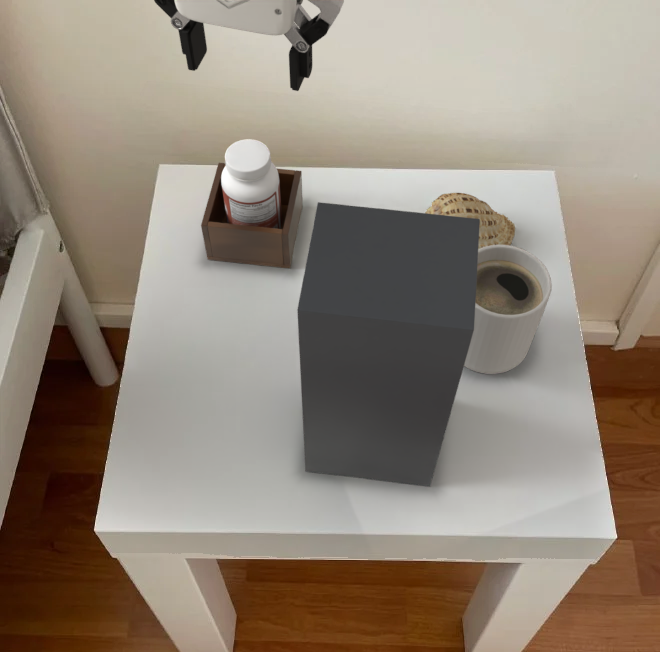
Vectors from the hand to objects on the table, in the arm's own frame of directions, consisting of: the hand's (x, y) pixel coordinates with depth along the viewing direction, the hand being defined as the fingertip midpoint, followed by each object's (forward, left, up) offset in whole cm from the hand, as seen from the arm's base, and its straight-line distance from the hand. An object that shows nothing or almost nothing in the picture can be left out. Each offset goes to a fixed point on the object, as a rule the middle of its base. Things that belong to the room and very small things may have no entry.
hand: (248, 70), depth 73 cm
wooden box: (-1, 0, -22) cm, 22 cm away
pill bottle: (-1, 0, -22) cm, 22 cm away
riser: (+15, -24, -22) cm, 36 cm away
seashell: (+23, +3, -22) cm, 32 cm away
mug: (+25, -10, -22) cm, 35 cm away
